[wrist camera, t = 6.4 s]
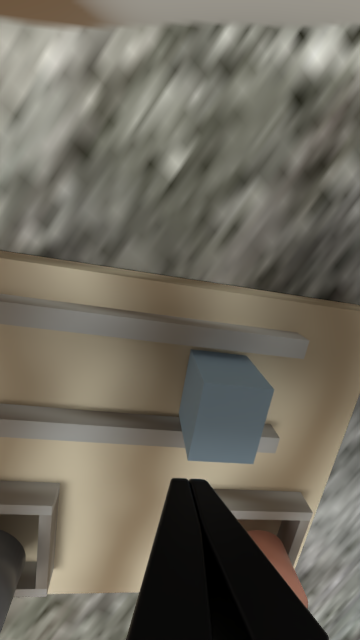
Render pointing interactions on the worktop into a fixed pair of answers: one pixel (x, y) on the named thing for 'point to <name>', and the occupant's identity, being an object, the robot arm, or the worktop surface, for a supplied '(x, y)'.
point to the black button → (9, 570)
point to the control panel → (152, 412)
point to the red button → (279, 560)
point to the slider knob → (223, 407)
